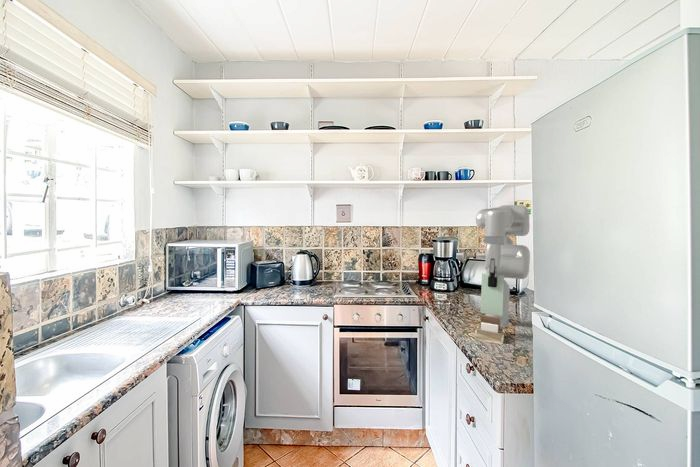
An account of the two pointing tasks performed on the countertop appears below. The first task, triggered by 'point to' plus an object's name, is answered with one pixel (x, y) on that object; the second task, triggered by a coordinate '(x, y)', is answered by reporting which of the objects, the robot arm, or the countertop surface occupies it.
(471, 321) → the shard
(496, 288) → the green panel
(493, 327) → the white offcut
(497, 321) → the walnut offcut
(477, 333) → the rack
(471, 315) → the countertop surface
